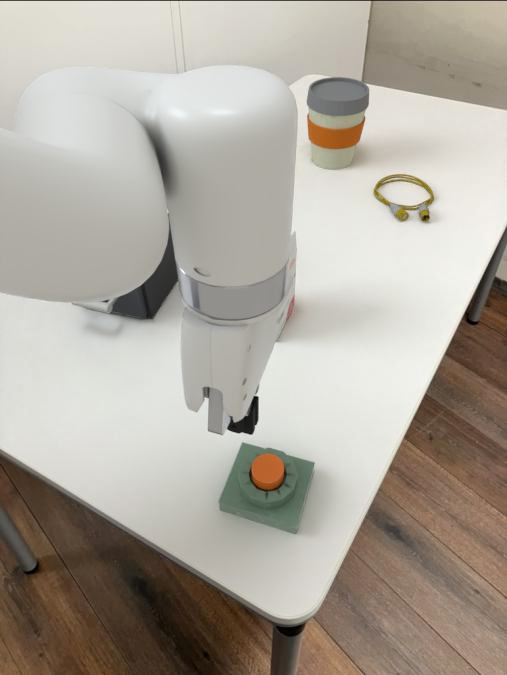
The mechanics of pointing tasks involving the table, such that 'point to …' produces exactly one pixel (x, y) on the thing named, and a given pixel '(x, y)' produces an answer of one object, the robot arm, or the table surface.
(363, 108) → the reusable coffee cup
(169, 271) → the black hollow box
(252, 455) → the control box
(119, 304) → the drawer
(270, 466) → the button
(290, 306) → the ink cartridge box
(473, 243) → the table surface
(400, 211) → the extension cord
